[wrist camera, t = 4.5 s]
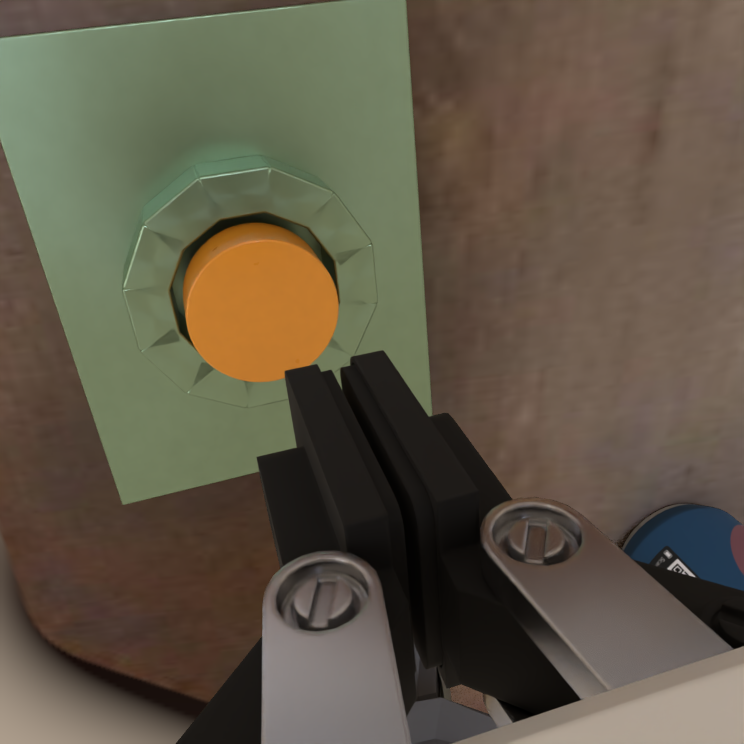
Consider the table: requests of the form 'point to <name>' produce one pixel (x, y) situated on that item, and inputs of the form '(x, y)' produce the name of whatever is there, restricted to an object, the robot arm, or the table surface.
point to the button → (258, 302)
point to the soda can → (691, 543)
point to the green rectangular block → (214, 208)
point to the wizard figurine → (441, 712)
